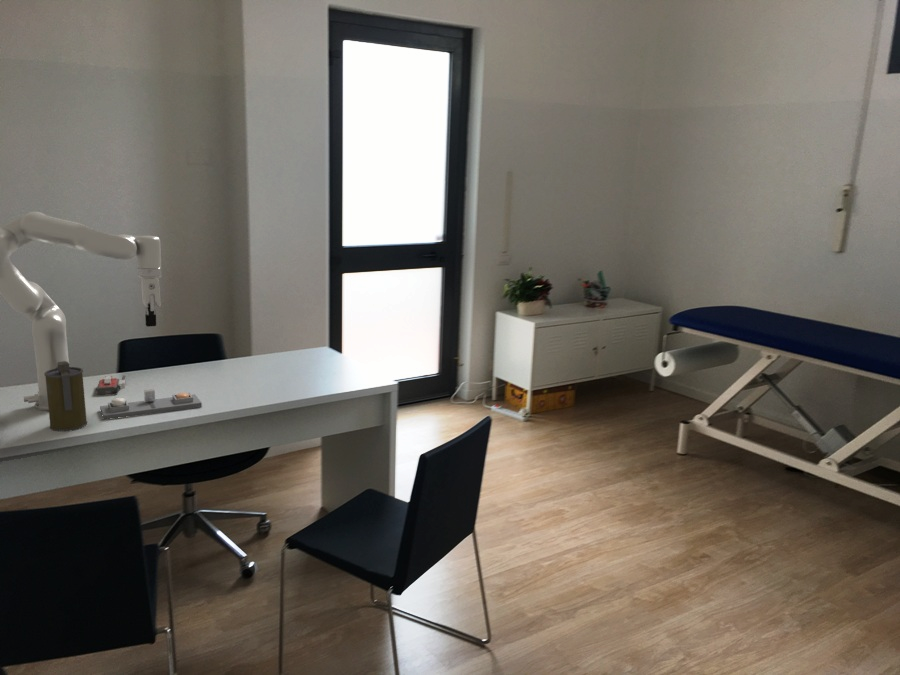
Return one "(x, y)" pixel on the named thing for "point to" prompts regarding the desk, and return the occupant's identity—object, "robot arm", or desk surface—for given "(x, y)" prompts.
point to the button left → (118, 402)
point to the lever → (149, 395)
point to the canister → (66, 397)
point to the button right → (182, 395)
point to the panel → (150, 406)
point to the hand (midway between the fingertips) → (151, 325)
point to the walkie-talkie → (110, 385)
